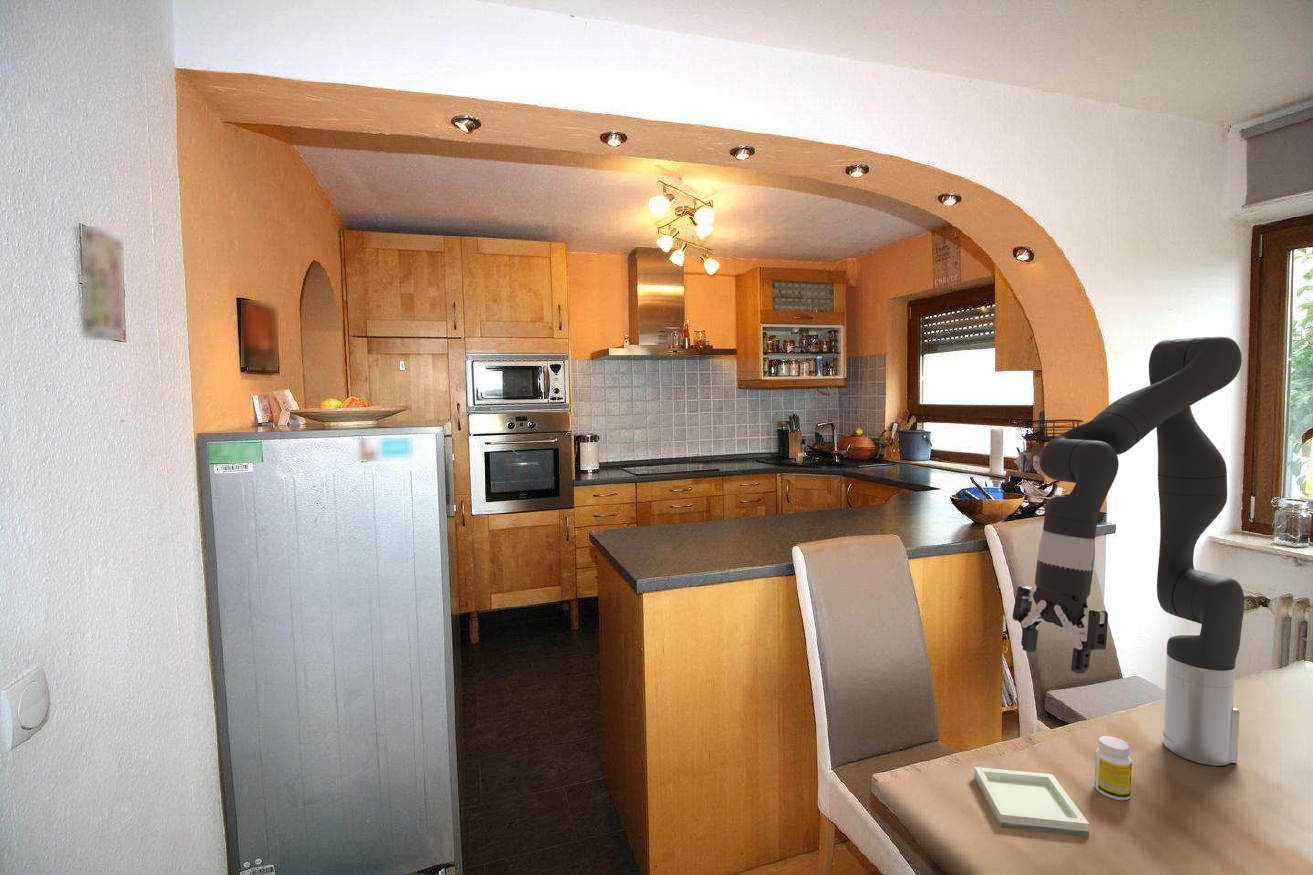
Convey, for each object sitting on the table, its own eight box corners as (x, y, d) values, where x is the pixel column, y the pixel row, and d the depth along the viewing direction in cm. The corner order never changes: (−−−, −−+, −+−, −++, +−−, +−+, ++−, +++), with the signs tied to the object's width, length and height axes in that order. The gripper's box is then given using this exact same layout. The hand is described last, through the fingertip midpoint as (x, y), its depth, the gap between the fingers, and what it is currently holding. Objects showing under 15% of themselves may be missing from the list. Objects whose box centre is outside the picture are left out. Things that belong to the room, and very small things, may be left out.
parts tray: (1051, 785, 101) (1052, 774, 101) (1088, 836, 89) (1089, 823, 89) (974, 778, 103) (974, 766, 103) (1000, 826, 91) (1000, 814, 91)
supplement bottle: (1137, 802, 96) (1139, 752, 96) (1103, 799, 97) (1105, 749, 97) (1120, 784, 101) (1122, 735, 100) (1088, 780, 102) (1090, 732, 101)
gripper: (1127, 574, 92) (1113, 679, 92) (1042, 553, 105) (1030, 644, 105) (1091, 573, 89) (1077, 680, 90) (1009, 551, 103) (997, 644, 103)
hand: (1052, 661), depth 97 cm, fingers open, 8 cm apart
